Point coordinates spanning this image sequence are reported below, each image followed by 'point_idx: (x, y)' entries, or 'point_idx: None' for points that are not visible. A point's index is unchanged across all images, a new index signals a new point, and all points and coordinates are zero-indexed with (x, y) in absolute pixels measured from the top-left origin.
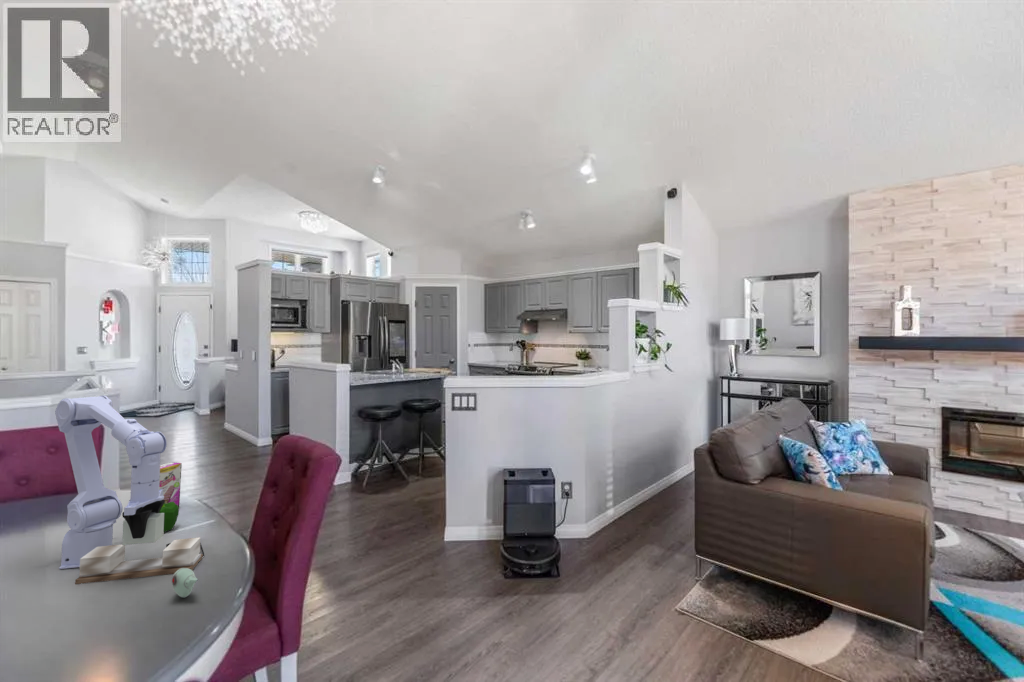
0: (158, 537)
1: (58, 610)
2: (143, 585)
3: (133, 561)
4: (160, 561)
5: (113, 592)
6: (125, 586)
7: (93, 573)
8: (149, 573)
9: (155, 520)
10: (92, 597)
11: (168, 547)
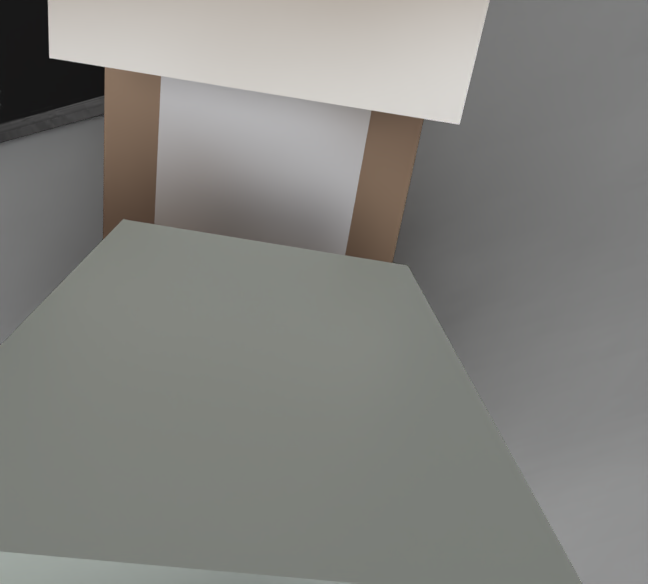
0: (294, 260)
1: (641, 525)
2: (561, 188)
3: None
4: (261, 154)
5: (566, 346)
6: (506, 304)
7: None
8: (405, 195)
9: (553, 555)
10: (570, 433)
11: (361, 75)
